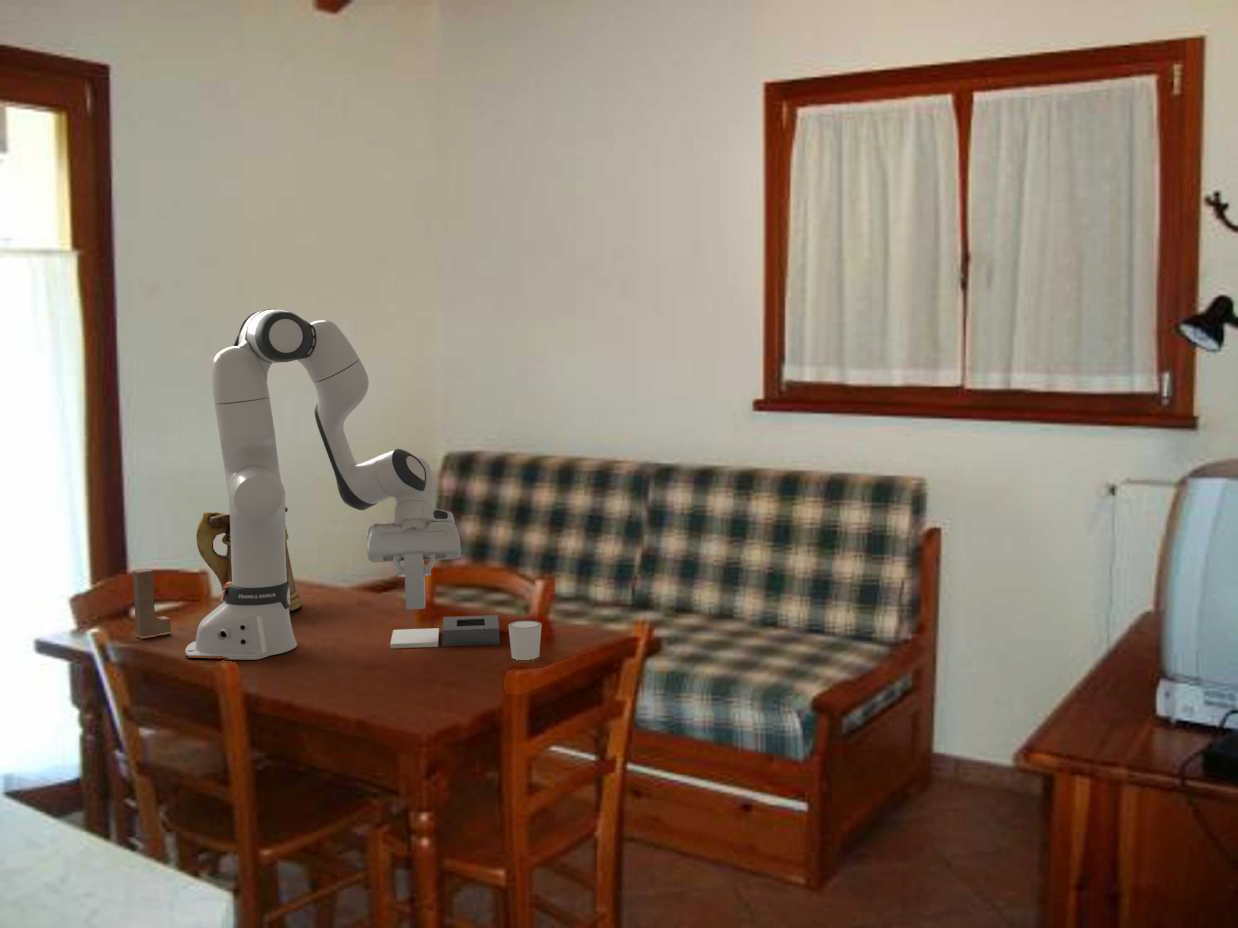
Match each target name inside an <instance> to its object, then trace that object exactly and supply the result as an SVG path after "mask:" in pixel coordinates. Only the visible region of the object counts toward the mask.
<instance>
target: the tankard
mask: <svg viewBox="0 0 1238 928" xmlns="http://www.w3.org/2000/svg"><path fill="white" fill-rule="evenodd" d="M288 511H289V509H288V507H287V506H285V513H287V512H288ZM202 514H203V516H202V517H201V519H200V522H199V524H198V526H197V531H196V536H195V537H196V546H197V550H198V552H199V555H200V556H201V557H202V559H203V561H204V562H205V563H206V565H207V566H208V567H209V568H210V569H211V571H212V572H213V573H214V575H215V576H216V577H217V579H218V581H219V583H220V587H221V590H222V591H221V592H223V587H224V585H225V584H226V583H227V582H232V565H231V536H230V511H227V512H219V511H204V512H203V513H202ZM222 534H224V535H223V537H222V539H221V542H222V544H224V545H226V553H225V555H224V554H223V555H222V554H218V553H217V551H215V549H214V540H215V539H216V537H217V536H218V535H222ZM288 540H289V533H288V530H287V526H286V525H285V551H286V577H287V580H288V581H289V587H290V606H289V613H290V612H292V611H295V610H297V609H299V608H300V607H301V606H302V602H301V597H300V594H299V593H300V591H299V590H298V589H297V588H296V584H295V578H294V575H293V570H292V569H293V568H292V563H291V558H290V554H289V549H288V544H287V541H288ZM223 602H224V600H223V595H221V597H220V604H219V605H221V604H222V603H223Z"/></svg>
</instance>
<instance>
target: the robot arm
mask: <svg viewBox="0 0 1238 928" xmlns="http://www.w3.org/2000/svg"><path fill="white" fill-rule="evenodd" d="M294 361H297V362H299V363H300V364H301V365H302V366H303V367H304V369H306V371H307V373H308V376H309V378H310V379H311V381H312V384H314V387H315V391H316V394H317V403H316V405H315V407H314V418H315V423H316V425H317V429H318V431H319V434H320V437H321V439H322V442H323V445H324V446H323V447H324V448H325V450H326V454H327V456H328V458H329V459H328V460H329V462H330V464H331V468H332V470H333V473H334V477H335V480H336V485H337V486H336V487H337V489H338V490H337V491H338V494H339V496H340V498H341V500H342V502H343V503H344V504H346V505H347V506H349V507H350V508H353V509H356V510H358V511H365V510H368V509H369V508H371V507H373V506H375V505H378V504H379V503H380V502H383V501H386V500H389V499H391V498H394V500H395V502H396V503H395V504H396V505H395V506H394V522H387V523H375V524H373V525H371V526H369V527H368V528H367V530H366V539H367V541H368V542H367V552H366V554H367V559H368V560H369V561H370V562H371V563H393V566H394V567H395V569H396V571H397V575H398V578H405V569H404V565H403V566H402V565H401V562H404V552H405V551H423V553H424V561H428V563H427V565H425V564H424V577H430V576H431V575H432V573H431V572H432V569H433V568H434V566H435V565H436V564H437V562H436V561H437V560H439V561H440V560H458V559H459V558H460V557H461V555H462V547H461V537H460V532H459V528H458V527H457V525H456V524H455V523H456V522H455V518H454V514H453V513H452V512H451V511H448V510H442V509H439V508H435V507H434V504H433V503H434V499H435V483H434V477H433V473H432V468H431V466H430V464H429V462H428V461H427V460H425V459H424V458H421V457H419V456H416V455H413V454H412V453H410V452H409V451H407V450H405V449H401V448H395V449H392V450H390V451H388V452H384V453H382V454H379V455H377V456H376V457H373V458H370V459H368V460H365V461H363V462H358V461H356V460H355V458H354V455H353V453H352V450H351V447H350V444H349V442H348V441H349V440H348V439H347V436H346V434H345V430H344V424H345V421H346V419H347V418H348V417H349V415H350V414H351V413H352V412H353V411H354V410H355V409H356V408H357V407H358V406H359V405H360V403H361V402H362V401H363V400H364V398H365V397H366V394H367V393H368V389H369V384H370V383H369V377H368V373H367V371H366V369H365V367H364V364H363V362H362V361H361V359H360V357H359V356H358V354H357V352H356V350H355V349H354V347H353V345H352V344H351V343H350V341H349V339H348V338H347V337H346V335H345V334H344V333H343V332H342V330H341V329H340V327H338V326H337V324H336V323H334V322H333V321H331V320H325V319H323V320H315V321H313V322H309V321H306V320H305V319H303V318H302V317H300V316H299V315H298V314H296V313H294V312H291V311H289V310H285V309H276V308H268V309H263V310H260V311H256V312H253V313H251V314H250V315H248V317H247V318H246V319H244V321H243V322H242V324H241V326H240V329H239V332H238V334H237V336H236V339H235V342H234V344H233V346H228V347H226V348H224V349H222V350H220V351H219V352H218V353H217V354H216V355H215V356H214V358H213V360H212V371H211V372H212V374H211V375H212V376H211V377H212V380H211V381H212V382H211V383H212V394H213V401H214V408H215V409H214V411H215V417H216V422H217V429H218V435H219V442H220V448H221V454H222V461H223V467H224V475H225V481H226V486H227V494H228V503H229V504H228V505H229V506H228V508H229V509H228V510H229V512H230V536H231V565H232V582H227V583H226V584H225V585H224V587H223V591H221V592H222V595H221V596H223V600H224V602H223V603H222V604H221V603H220V604H221V605H220V604H219V605H218V606H217V607H215V609H213V610H212V611H211V612H210V613H208V614H207V615H206V616H205V617H203V619H202V620H201V621H200V623H199V624H198V626H197V630H196V637H195V640H194V641H192V642H190V643H189V644H188V645H187V646H186V648H185V651H184V654H185V653H186V655H188V656H223V657H227V658H229V659H228V660H246V661H247V660H249V661H250V660H255V661H256V660H261V659H264V658H266V657H270V656H273V655H278V654H279V655H280V654H284V653H287V652H289V651H292V650H293V649H295V648H296V647H297V646H298V643H297V640H296V638H295V635H294V630H293V627H292V622H291V615H290V612H289V606H290V587H289V581H288V580H287V577H286V551H285V526H286V512H285V507H286V492H285V488H284V487H285V486H284V485H283V482H282V479H281V475H280V473H281V472H280V465H279V464H280V463H279V458H278V450H277V449H278V448H277V441H276V430H275V425H274V417H273V412H272V410H273V409H272V403H271V397H270V391H269V386H268V374H269V370H270V368H271V366H272V365H273V364H279V363H288V362H294Z"/></svg>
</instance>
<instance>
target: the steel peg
mask: <svg viewBox="0 0 1238 928" xmlns="http://www.w3.org/2000/svg"><path fill="white" fill-rule="evenodd" d="M403 564H404V565H403V566H404V569H405V577H404V588H405V589H404V591H405V592H404V593H405V611H406V610H425V609H426V584H425V582H426V581H425V578H426V576H424V565H425V560H424V553H423V551H405V552H404V561H403Z"/></svg>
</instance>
